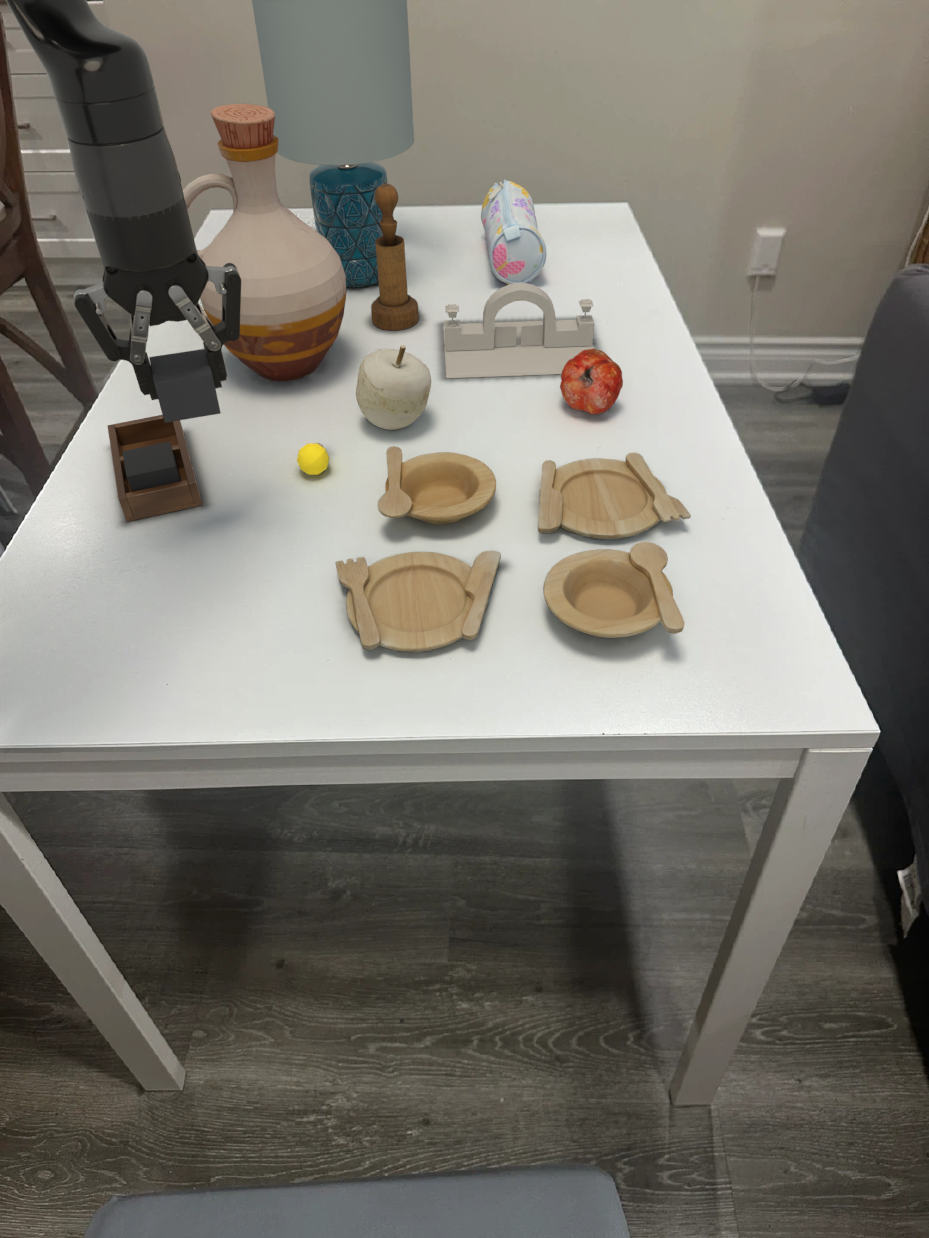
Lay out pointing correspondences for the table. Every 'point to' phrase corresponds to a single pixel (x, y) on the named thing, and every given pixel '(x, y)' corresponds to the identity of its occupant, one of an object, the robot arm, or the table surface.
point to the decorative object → (392, 388)
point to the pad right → (184, 385)
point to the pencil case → (512, 234)
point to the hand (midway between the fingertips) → (186, 389)
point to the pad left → (150, 466)
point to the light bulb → (313, 458)
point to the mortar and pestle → (391, 270)
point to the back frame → (160, 496)
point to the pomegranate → (591, 381)
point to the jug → (269, 256)
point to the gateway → (515, 338)
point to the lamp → (340, 109)
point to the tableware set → (458, 594)
